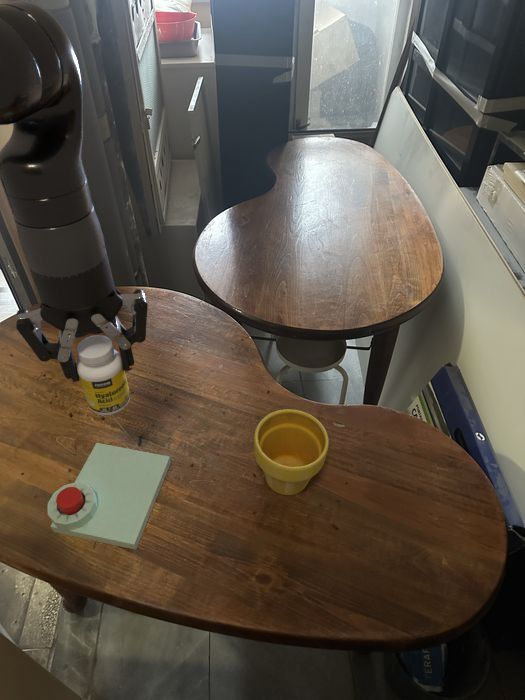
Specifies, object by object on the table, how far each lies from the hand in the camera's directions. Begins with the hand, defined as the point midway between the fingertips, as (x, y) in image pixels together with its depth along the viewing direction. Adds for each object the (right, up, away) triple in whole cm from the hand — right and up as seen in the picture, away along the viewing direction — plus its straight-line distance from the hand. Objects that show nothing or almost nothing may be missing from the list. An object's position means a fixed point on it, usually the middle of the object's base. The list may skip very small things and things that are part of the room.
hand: (101, 371), depth 59 cm
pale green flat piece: (-2, -19, +11) cm, 22 cm away
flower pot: (+24, -17, +14) cm, 32 cm away
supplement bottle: (0, -4, +4) cm, 6 cm away
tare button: (-6, -18, +7) cm, 21 cm away
